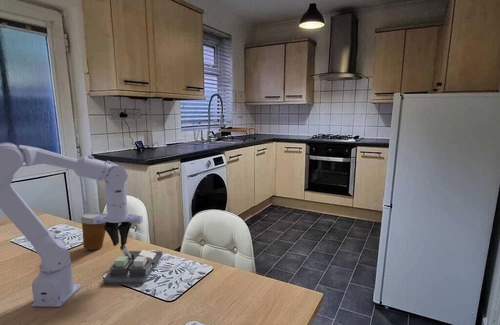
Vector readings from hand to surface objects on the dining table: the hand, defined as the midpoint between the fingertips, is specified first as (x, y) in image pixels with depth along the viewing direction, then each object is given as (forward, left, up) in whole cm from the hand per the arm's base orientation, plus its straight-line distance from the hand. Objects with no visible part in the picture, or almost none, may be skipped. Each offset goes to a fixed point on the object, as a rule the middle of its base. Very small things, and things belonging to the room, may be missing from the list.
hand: (120, 244), depth 91 cm
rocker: (+6, -6, -7) cm, 11 cm away
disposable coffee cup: (+17, +19, -10) cm, 27 cm away
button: (0, 0, -7) cm, 7 cm away
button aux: (0, -6, -7) cm, 9 cm away
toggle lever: (+6, 0, -8) cm, 10 cm away
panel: (+3, -3, -10) cm, 11 cm away
